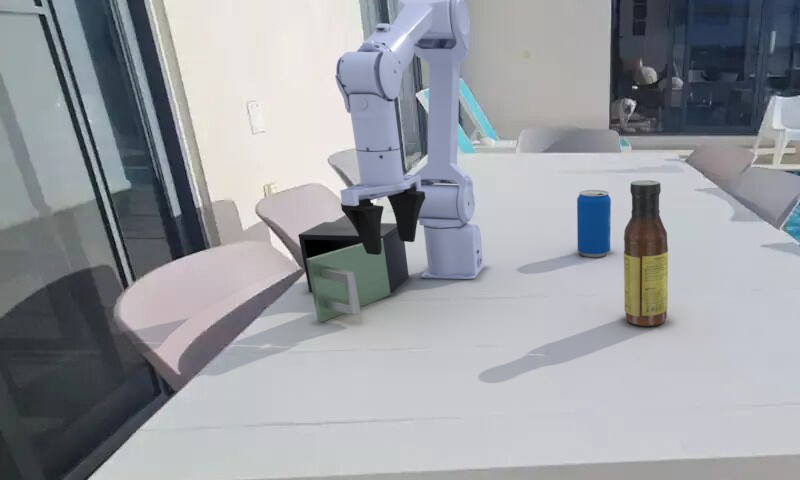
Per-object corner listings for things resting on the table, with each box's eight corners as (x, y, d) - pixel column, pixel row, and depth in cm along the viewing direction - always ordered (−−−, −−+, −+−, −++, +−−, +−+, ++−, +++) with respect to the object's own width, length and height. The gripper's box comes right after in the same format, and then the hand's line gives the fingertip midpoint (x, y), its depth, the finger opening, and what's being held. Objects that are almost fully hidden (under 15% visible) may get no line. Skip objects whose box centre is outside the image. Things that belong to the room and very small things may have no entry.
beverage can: (606, 259, 123) (607, 196, 118) (574, 257, 125) (573, 194, 119) (612, 250, 129) (613, 190, 124) (581, 248, 130) (581, 188, 125)
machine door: (417, 301, 100) (410, 243, 96) (349, 329, 89) (338, 265, 86) (387, 294, 103) (379, 237, 99) (317, 321, 92) (305, 258, 88)
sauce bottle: (671, 316, 95) (678, 179, 87) (660, 330, 90) (667, 187, 82) (629, 310, 97) (632, 177, 89) (616, 325, 92) (618, 184, 84)
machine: (390, 294, 104) (382, 236, 100) (309, 292, 104) (297, 234, 100) (409, 278, 112) (402, 223, 108) (333, 276, 112) (324, 221, 108)
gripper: (365, 156, 79) (380, 263, 85) (434, 145, 92) (443, 238, 97) (321, 154, 82) (338, 257, 87) (393, 142, 94) (405, 234, 100)
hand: (391, 247), depth 92 cm, fingers open, 7 cm apart
